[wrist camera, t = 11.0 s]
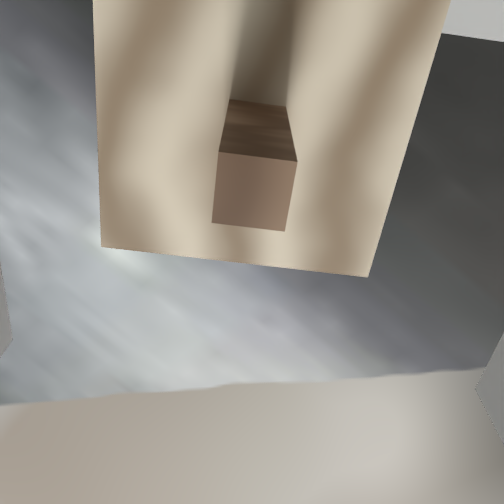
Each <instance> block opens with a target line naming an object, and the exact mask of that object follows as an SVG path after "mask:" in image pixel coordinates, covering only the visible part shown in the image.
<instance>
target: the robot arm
mask: <svg viewBox="0 0 504 504" xmlns="http://www.w3.org/2000/svg"><path fill="white" fill-rule="evenodd" d="M12 340H13V338H12V332H11V325H10V319H9V313H8V307H7V301H6V294H5V288H4V282H3V276H2V270H1V263H0V358H1V356H2V355H3V353H4V352H5V350H6V349H7V347H8V346H9V344H10V343H11V341H12ZM475 390H476V392H477V394H478V396H479V398H480V400H481V402H482V403H483V405H484V408H485V409H486V411H487V413H488V415H489V417H490V419H491V421H492V423H493V425H494V427H495V429H496V431H497V433H498V435H499V437H500V439H501V441H502V443H503V444H504V333H503V335H502V337H501V339H500V341H499V343H498V345H497V347H496V349H495V351H494V353H493V355H492V357H491V359H490V361H489V363H488V364H487V366H486V368H485V370H484V372H483V374H482V376H481V378H480V380H479V382H478V384H477V386H476V388H475Z"/></svg>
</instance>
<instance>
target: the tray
mask: <svg viewBox="0 0 504 504" xmlns="http://www.w3.org/2000/svg"><path fill="white" fill-rule="evenodd" d="M441 33H447V34H453V35H460V36H467V37H474V38H481V39H488V40H495V41H502V42H504V0H451V2H450V5H449V9H448V12H447V15H446V19H445V22H444V25H443V29H442V32H441Z"/></svg>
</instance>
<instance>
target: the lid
mask: <svg viewBox="0 0 504 504" xmlns="http://www.w3.org/2000/svg"><path fill="white" fill-rule="evenodd" d="M450 2H451V0H93V20H94V49H95V78H96V107H97V137H98V166H99V195H100V224H101V247H107V248H116V249H124V250H133V251H142V252H151V253H159V254H168V255H177V256H186V257H194V258H203V259H212V260H221V261H229V262H238V263H247V264H256V265H264V266H273V267H282V268H291V269H300V270H308V271H317V272H326V273H335V274H343V275H352V276H361V277H368V275H369V271H370V268H371V265H372V261H373V258H374V255H375V251H376V248H377V245H378V241H379V238H380V235H381V231H382V228H383V225H384V221H385V218H386V215H387V211H388V208H389V205H390V201H391V198H392V195H393V191H394V188H395V185H396V181H397V178H398V175H399V172H400V168H401V165H402V162H403V158H404V155H405V152H406V148H407V145H408V142H409V138H410V135H411V132H412V128H413V125H414V122H415V118H416V115H417V112H418V108H419V105H420V102H421V98H422V95H423V92H424V88H425V85H426V82H427V78H428V75H429V72H430V68H431V65H432V62H433V58H434V55H435V52H436V49H437V45H438V42H439V39H440V35H441V32H442V29H443V25H444V22H445V19H446V15H447V12H448V9H449V5H450Z"/></svg>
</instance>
